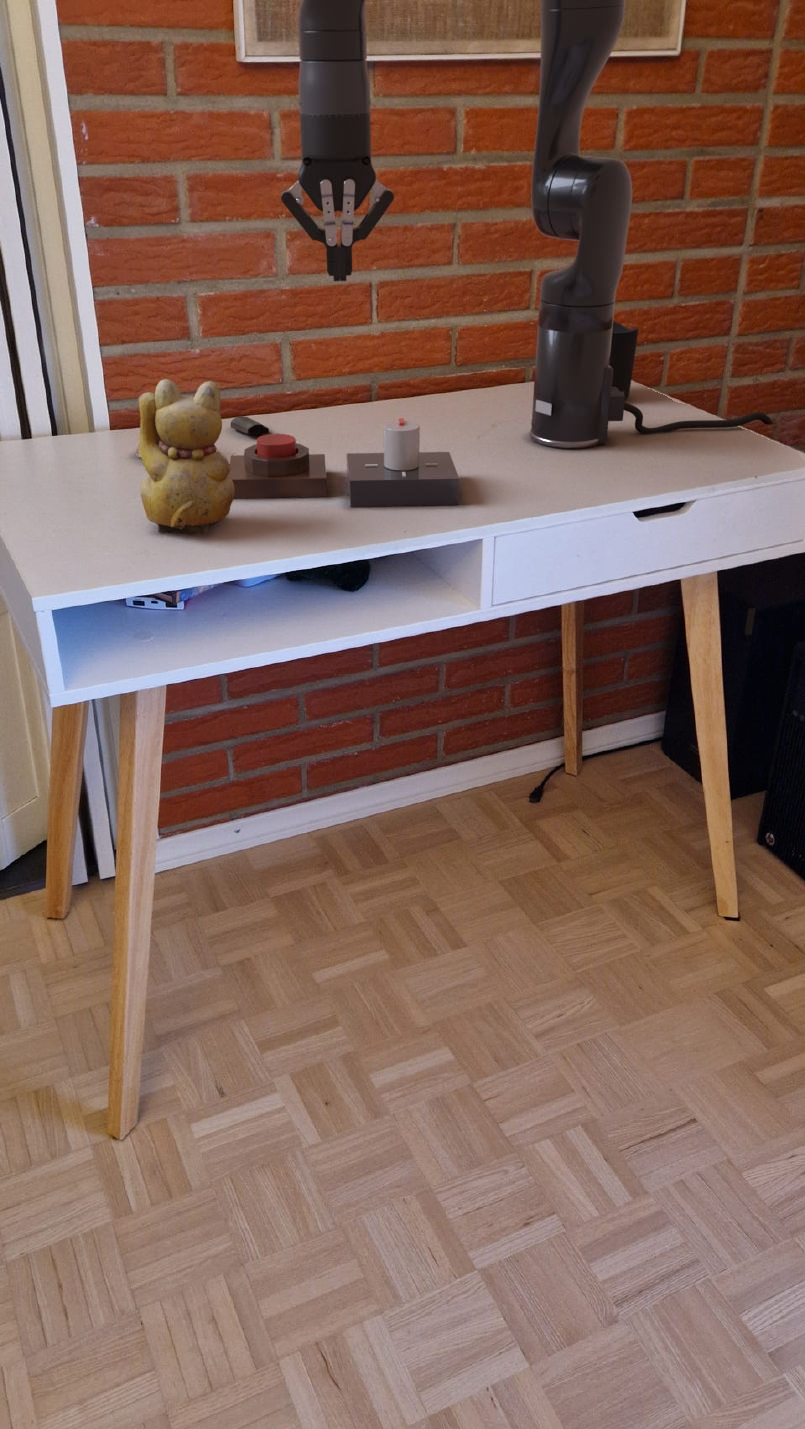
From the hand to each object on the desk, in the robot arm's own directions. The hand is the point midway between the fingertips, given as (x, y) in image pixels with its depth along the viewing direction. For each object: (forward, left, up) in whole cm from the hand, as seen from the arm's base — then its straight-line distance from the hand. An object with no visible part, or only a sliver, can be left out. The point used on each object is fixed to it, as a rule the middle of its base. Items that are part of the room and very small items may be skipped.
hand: (340, 280), depth 134 cm
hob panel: (-6, +12, -21) cm, 25 cm away
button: (+8, +9, -17) cm, 21 cm away
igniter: (+8, +9, -21) cm, 24 cm away
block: (+12, -12, -21) cm, 27 cm away
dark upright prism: (-38, -28, -21) cm, 52 cm away
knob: (-6, +12, -18) cm, 23 cm away
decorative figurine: (+17, +23, -21) cm, 35 cm away
